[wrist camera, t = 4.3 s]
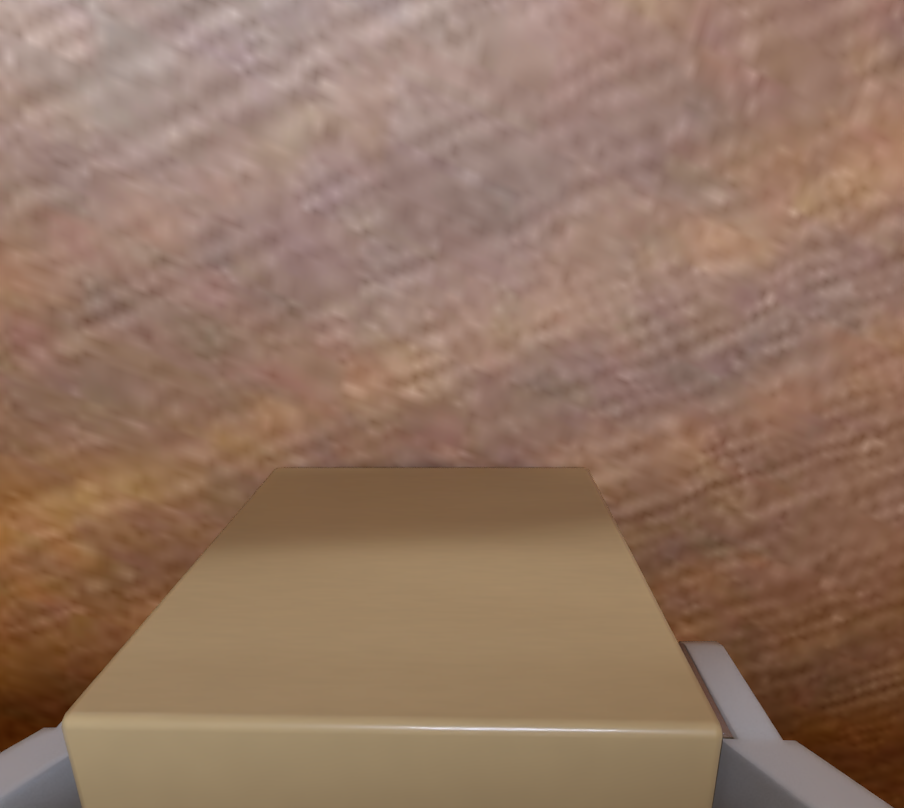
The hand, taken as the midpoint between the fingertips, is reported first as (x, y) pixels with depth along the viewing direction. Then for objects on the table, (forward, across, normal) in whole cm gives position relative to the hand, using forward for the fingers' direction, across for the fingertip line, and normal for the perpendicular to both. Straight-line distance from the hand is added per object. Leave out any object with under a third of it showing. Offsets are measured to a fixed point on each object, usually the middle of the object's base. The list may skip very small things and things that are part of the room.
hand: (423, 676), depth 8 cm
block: (+2, 0, 0) cm, 2 cm away
